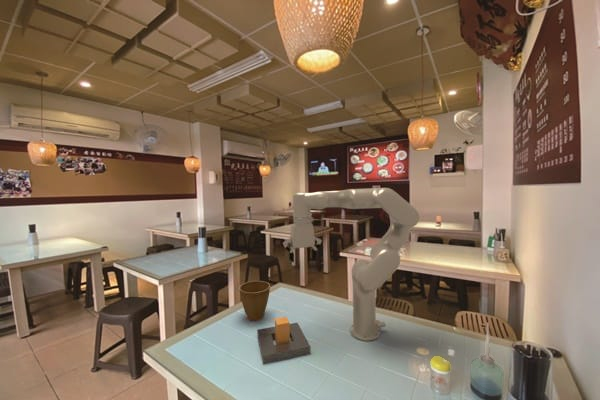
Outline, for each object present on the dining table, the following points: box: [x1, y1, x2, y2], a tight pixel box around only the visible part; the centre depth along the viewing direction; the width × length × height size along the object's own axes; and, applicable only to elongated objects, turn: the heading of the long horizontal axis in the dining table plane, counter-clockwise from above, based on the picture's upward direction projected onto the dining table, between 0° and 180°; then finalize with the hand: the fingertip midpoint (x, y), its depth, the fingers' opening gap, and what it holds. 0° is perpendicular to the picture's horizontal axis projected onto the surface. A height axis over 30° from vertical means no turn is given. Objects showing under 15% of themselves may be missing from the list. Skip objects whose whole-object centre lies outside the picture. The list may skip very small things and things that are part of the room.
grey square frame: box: [256, 322, 311, 365], centre depth 101 cm, size 18×18×3 cm
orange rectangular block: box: [274, 316, 291, 345], centre depth 101 cm, size 5×5×10 cm
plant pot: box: [238, 280, 271, 322], centre depth 122 cm, size 15×15×16 cm
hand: (303, 260), depth 107 cm, fingers open, 9 cm apart
